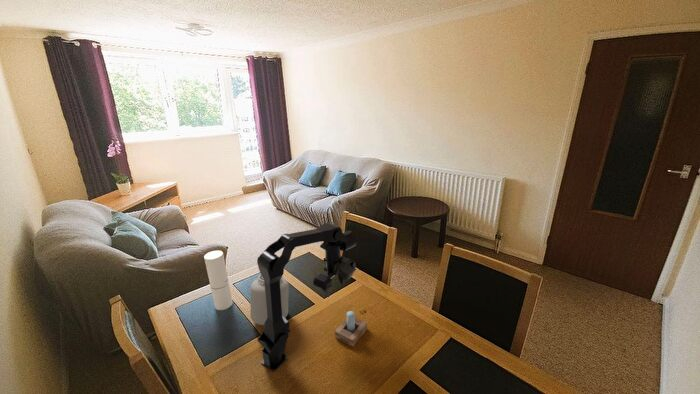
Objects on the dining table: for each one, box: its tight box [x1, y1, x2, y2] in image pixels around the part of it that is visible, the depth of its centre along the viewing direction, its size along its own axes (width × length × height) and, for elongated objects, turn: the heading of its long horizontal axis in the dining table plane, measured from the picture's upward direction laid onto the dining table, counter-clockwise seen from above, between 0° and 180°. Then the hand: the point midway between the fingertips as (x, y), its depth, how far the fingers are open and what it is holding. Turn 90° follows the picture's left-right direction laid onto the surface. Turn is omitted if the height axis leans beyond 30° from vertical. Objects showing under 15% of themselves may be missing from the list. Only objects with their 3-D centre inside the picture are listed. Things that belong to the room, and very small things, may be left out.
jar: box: [249, 274, 289, 326], centre depth 114 cm, size 19×15×25 cm
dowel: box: [346, 310, 356, 333], centre depth 106 cm, size 3×3×9 cm
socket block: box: [334, 317, 368, 347], centre depth 107 cm, size 10×8×3 cm
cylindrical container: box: [203, 250, 233, 311], centre depth 121 cm, size 7×7×25 cm
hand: (335, 290), depth 112 cm, fingers open, 9 cm apart
